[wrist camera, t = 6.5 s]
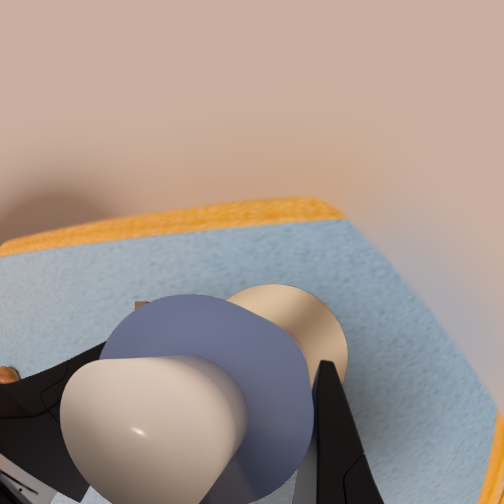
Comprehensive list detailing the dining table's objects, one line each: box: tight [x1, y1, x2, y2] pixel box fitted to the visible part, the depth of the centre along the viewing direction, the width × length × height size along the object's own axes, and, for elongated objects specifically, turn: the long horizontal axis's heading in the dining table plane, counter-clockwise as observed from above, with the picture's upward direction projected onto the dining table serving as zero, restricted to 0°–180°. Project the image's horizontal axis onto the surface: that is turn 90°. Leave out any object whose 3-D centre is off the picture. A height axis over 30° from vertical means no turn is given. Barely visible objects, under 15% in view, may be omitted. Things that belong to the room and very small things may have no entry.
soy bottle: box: [60, 294, 314, 504], centre depth 9 cm, size 5×5×12 cm
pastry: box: [0, 366, 20, 384], centre depth 21 cm, size 9×7×4 cm
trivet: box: [226, 284, 348, 391], centre depth 20 cm, size 11×11×1 cm
